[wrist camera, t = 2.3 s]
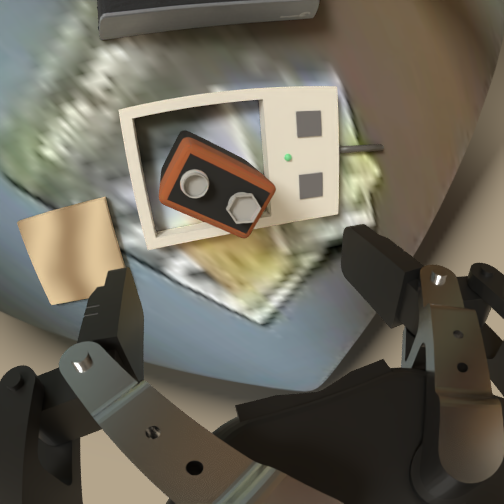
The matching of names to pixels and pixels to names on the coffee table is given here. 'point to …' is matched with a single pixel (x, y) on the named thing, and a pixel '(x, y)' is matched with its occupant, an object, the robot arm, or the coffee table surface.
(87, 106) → the coffee table surface
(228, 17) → the external hard drive
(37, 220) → the cork pad
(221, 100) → the charging dock
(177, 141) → the battery
